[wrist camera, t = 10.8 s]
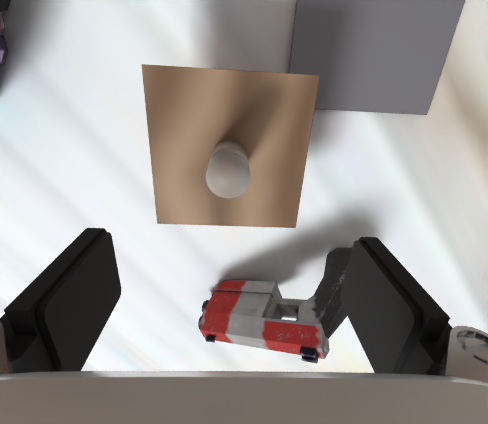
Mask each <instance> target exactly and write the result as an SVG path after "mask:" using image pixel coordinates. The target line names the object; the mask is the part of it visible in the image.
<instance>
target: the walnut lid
mask: <svg viewBox="0 0 488 424" xmlns="http://www.w3.org/2000/svg"><path fill="white" fill-rule="evenodd" d="M142 73H143V83H144V93H145V103H146V114H147V124H148V134H149V144H150V154H151V164H152V174H153V185H154V195H155V205H156V215H157V224H188V225H220V226H253V227H285V228H296V222H297V215H298V209H299V203H300V196H301V190H302V184H303V177H304V171H305V165H306V158H307V152H308V146H309V139H310V133H311V127H312V120H313V114H314V108H315V101H316V95H317V89H318V82H319V76H320V75H304V74H288V73H272V72H256V71H240V70H224V69H208V68H192V67H176V66H160V65H144V64H142Z"/></svg>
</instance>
